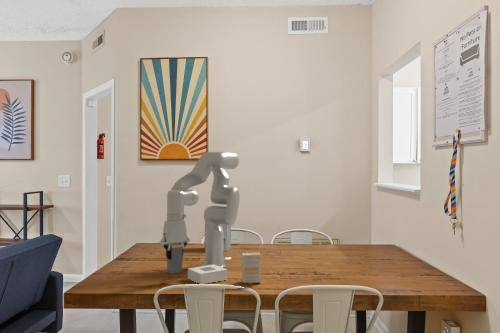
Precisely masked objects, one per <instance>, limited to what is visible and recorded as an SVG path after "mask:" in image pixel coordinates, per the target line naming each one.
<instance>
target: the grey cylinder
mask: <svg viewBox="0 0 500 333" xmlns="http://www.w3.org/2000/svg"><path fill="white" fill-rule="evenodd" d="M170 250H171V259H170V260H169V259H167V258H166V259H167V260H166V262H167V264H166V271H167V272H169V273H171V274H173V273H175V274H176V273H180V272H182V273H183V258H182V252H183V253H184V249H183V245H182V244H179V243H174V244H172V245H171V248H170Z"/></svg>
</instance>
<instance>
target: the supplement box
mask: <svg viewBox="0 0 500 333" xmlns="http://www.w3.org/2000/svg"><path fill="white" fill-rule="evenodd" d="M241 258H242V259H241V261H242V262H241V266H242V268H241V270H242V271H241V272H242V273H241V275H242V276H241V278H242V280H241V281H242V284H243V283H248V284H252V283H260V284H261V271H262V270H261V253H260V252H242V255H241ZM252 285H253V284H252Z"/></svg>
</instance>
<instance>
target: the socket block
mask: <svg viewBox="0 0 500 333" xmlns="http://www.w3.org/2000/svg"><path fill="white" fill-rule="evenodd" d="M188 279H190V280H192V281H194V282H193V283H195V282H196V283H195V284H197V283H200V284H205V283H211V284H213V283H212V282H216V283H219V282H218V281H221V282H225V281H224V280H226V281H228V269H227V268H226V267H224V268H222V267H219V266H217V265H214V264H213V265H207V266H202V265H200V266H194V267H189V268H187V280H188ZM190 280H189V281H190ZM192 281H191V282H192ZM205 285H206V284H205Z"/></svg>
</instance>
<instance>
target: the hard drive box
mask: <svg viewBox="0 0 500 333" xmlns="http://www.w3.org/2000/svg"><path fill="white" fill-rule="evenodd" d="M221 227H222V229H223V232H224V252H228V251H230V250H231V249H232V246H231V243H232V242H231V241H232V225H221ZM204 250H206V227H205V226H204Z"/></svg>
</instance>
